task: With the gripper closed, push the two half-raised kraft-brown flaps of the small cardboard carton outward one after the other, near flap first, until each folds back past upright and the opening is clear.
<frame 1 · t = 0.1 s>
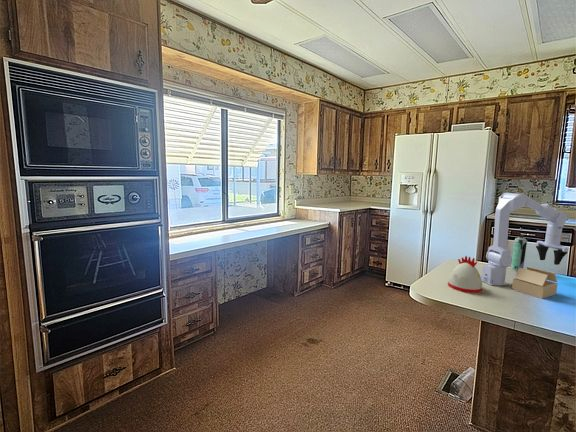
hand: (549, 262, 156), 10 cm above the table, tool pointing down, fingers open, 7 cm apart
near flap: (530, 276, 141), point 8 cm above the table, hinge at 55.0°
far flap: (541, 273, 145), point 8 cm above the table, hinge at 55.0°
carton: (533, 291, 144), on the table
kitchen timer: (464, 287, 147), on the table
spray can: (516, 270, 176), on the table
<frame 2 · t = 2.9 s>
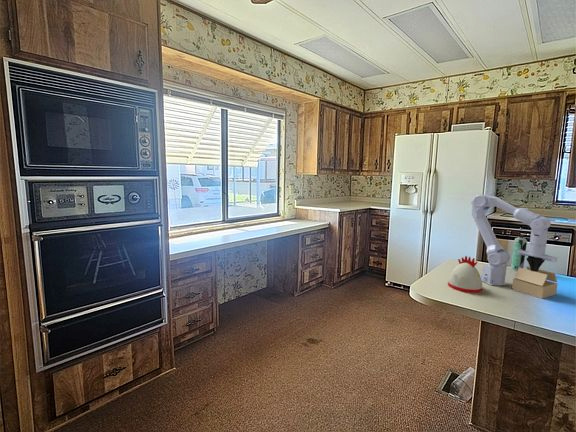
hand: (534, 273, 142), 9 cm above the table, tool pointing down, fingers closed, pressing on near flap
near flap: (530, 276, 141), point 8 cm above the table, hinge at 56.8°, touching gripper
everything else where it was.
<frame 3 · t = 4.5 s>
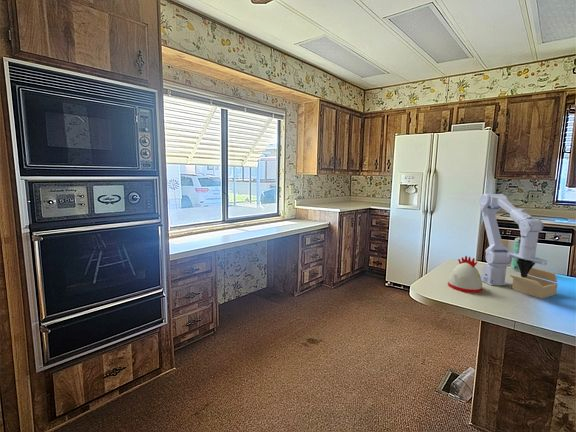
hand: (523, 276, 138), 8 cm above the table, tool pointing down, fingers closed
near flap: (525, 280, 139), point 7 cm above the table, hinge at 148.1°
everything else where it was.
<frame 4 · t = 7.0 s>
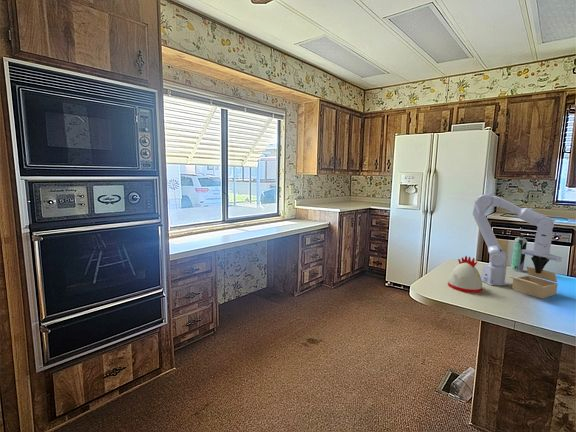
hand: (538, 273, 143), 9 cm above the table, tool pointing down, fingers closed, pressing on far flap
near flap: (524, 281, 139), point 6 cm above the table, hinge at 156.7°
far flap: (541, 273, 145), point 8 cm above the table, hinge at 55.5°, touching gripper
everything else where it was.
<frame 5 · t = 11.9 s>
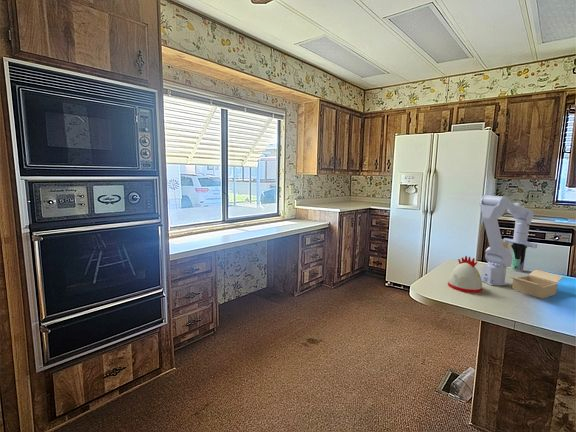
hand: (517, 258, 160), 10 cm above the table, tool pointing down, fingers closed
far flap: (545, 275, 147), point 6 cm above the table, hinge at 156.8°
everything else where it was.
at the end: near flap at +157° (first picture: +55°); far flap at +157° (first picture: +55°) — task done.
